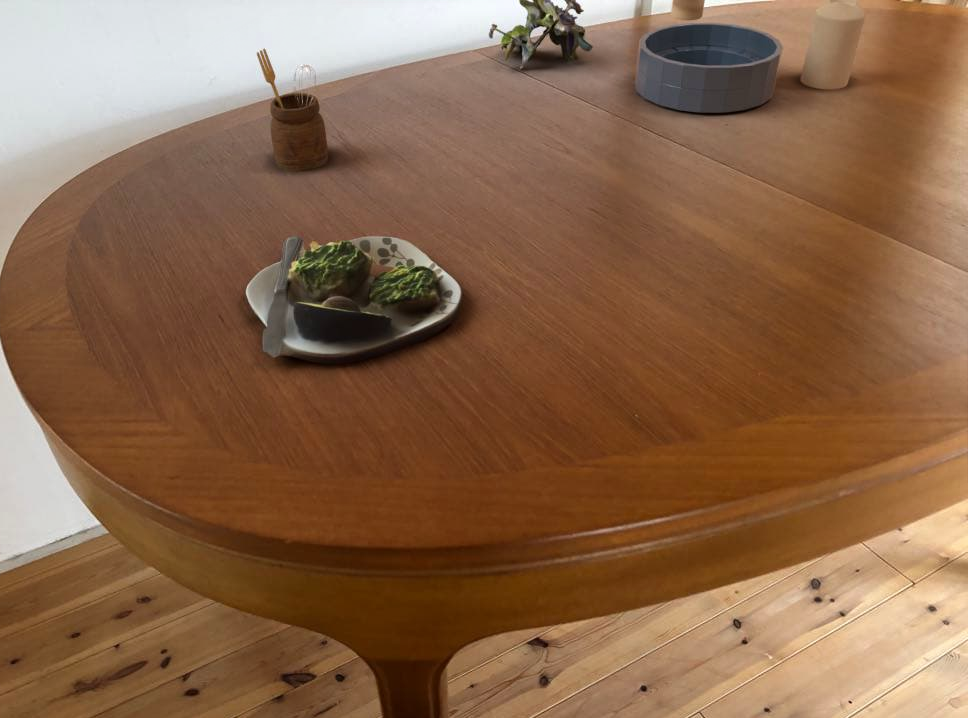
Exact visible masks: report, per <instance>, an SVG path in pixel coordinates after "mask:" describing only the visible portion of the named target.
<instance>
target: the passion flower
mask: <svg viewBox="0 0 968 718" xmlns="http://www.w3.org/2000/svg"><path fill="white" fill-rule="evenodd" d="M518 2H519V5H520V6H521V7H523V8H524V9H525V10H526V12H527V15H526V20H525V21H526V22H525V25H522V24H518V25H515V26H514V27H513V28H512V29H511V30H509V31H507V32H504V31H502V30H500V29H499V28H498V24H495V23H492V24H491V27H490V29H489V33H488V37H489V39H493V37H494V32H495V31H496V32H497V33H500V34H502V35H503V36H502V37H501V42H500V48H501V50H504V49H505V50H506V52H505V55H504V60H505V61H507V60H508V58H509V57H510V55H511V53H512V52H513V50H514V49H515V52H516V53H521V58H522V59H521V63H520V67H519V69H518V70H519V71H522V70H523V69H524V67H525V65H526V64H527V62H529V61H530V60H531V59H532V57H533V58H534V55H535V54H536V53H537V48H538V47H539V46H540V45H541V43H542V42H543V41H544V39H545V38H546V37H547V36H549V40H550V41H551V42H552V44H554V45H555V46H560V49H561V55H562V58H563V59H564V60H566V61H575V62H579V60H580V59H579V56H578V55H577V49H578V47H579V48H580V49H581V50H582V51H584V52H588V53H589V52H590V51H592V49H593V47H594V45H592V44H591V43H589V42H588V41H587V40H586V38H587V37H588V36H587V35H586V29H585V28H584V26H582V25H579V24H577V23H576V21H575V20H577V19H578V16H574V14H571V13H570V12H569V11H570V10H574V11H575V13H576V14H577V15H581V14H582V13H583V12H585V9H582V6H581V5H580V4H579V2H577V0H564V2H565V4H566V7H565V9H563V7H559V5H558V4H557V5H555V4H554V2H553V1H552V0H532V1H530V0H518ZM540 27H541V28H545V29H544V30H543V32H542V34H541V35H540V36H539V38H537V40H536V41H535V42H533V41H532V40H531V34H532V32H533V30H535V29H538V28H540ZM527 44H528V45H527ZM508 45H510V46H509V49H508Z"/></svg>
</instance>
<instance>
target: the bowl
mask: <svg viewBox="0 0 968 718" xmlns="http://www.w3.org/2000/svg"><path fill="white" fill-rule="evenodd" d="M783 51H784V46H783V44H782V42H781V41H780V40H779V38H777V37H775V36H774V35H772V34H770V33H768V32H765V31H762V30H759V29H757V28H754V27H749V26H745V25H738V24H731V23H719V22H688V23H679V24H671V25H666V26H662V27H658V28H655V29H653V30H651V31H649V32H647V33H645V34H644V35H643V36H642V37H641V38H640V40H639V41H638V49H637V58H636V66H635V75H634V76H635V78H634V87H635V92H637V93H638V94H639V95H640V96H641V97H642V98H643V99H645V100H647V101H649V102H650V103H651V102H652V103H654V104H656V105H658V106H661V107H665V108H668V109H672V110H677V111H684V112H690V113H691V112H692V113H700V114H701V113H703V114H706V113H707V114H710V113H711V114H713V113H715V114H716V113H718V114H719V113H720V114H721V113H722V114H723V113H732V112H739V111H745V110H749V109H752V108H755V107H758V106H762V105H763V104H765V103H767V102H768V101H770V100H771V99H772V97H773V95H774V92H775V89H776V85H777V80H778V74H779V69H780V65H781V59H782V55H783Z"/></svg>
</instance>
